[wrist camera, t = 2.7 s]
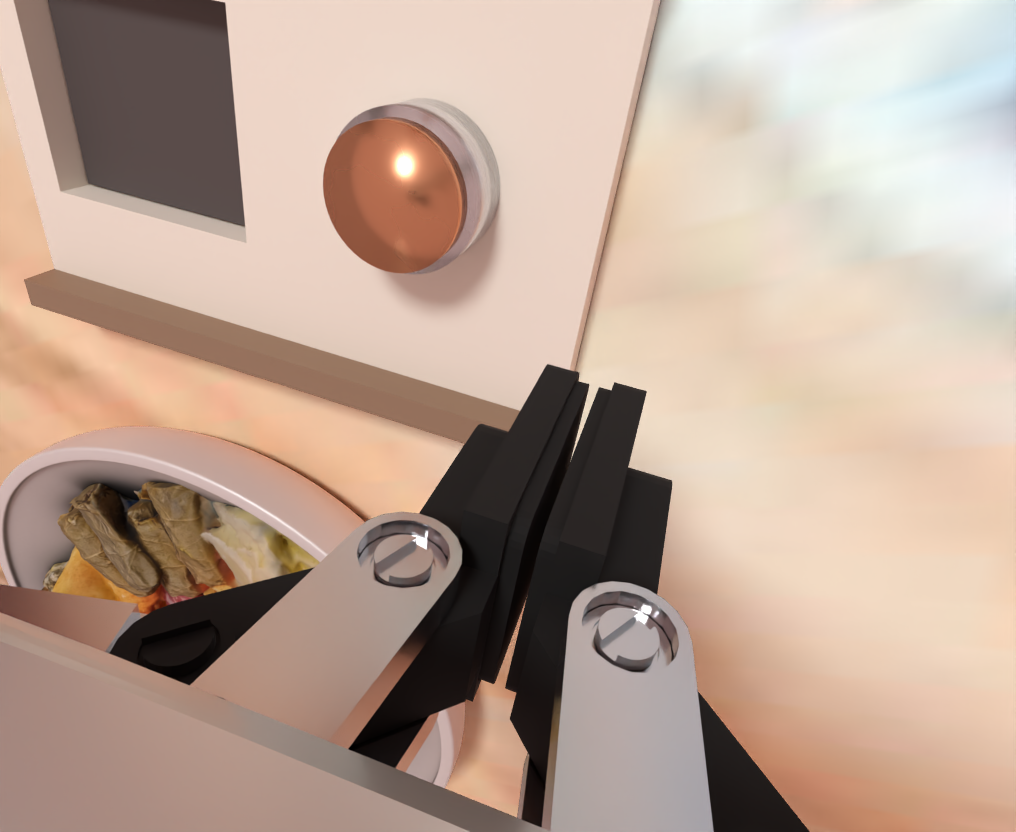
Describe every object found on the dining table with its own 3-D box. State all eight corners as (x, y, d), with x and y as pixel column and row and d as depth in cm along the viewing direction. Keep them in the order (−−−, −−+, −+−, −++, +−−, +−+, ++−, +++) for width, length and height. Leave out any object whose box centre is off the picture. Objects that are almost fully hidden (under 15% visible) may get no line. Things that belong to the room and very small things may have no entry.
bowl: (13, 329, 35) (-151, 397, 29) (528, 512, 30) (468, 645, 24) (113, 656, 52) (23, 745, 46) (453, 809, 47) (406, 933, 41)
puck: (511, 115, 20) (476, 128, 17) (489, 270, 22) (458, 300, 20) (364, 84, 21) (312, 92, 18) (361, 235, 23) (315, 260, 21)
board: (692, -136, 17) (681, -163, 14) (561, 427, 27) (541, 468, 24) (-36, -231, 21) (-139, -264, 19) (88, 282, 31) (31, 304, 29)
